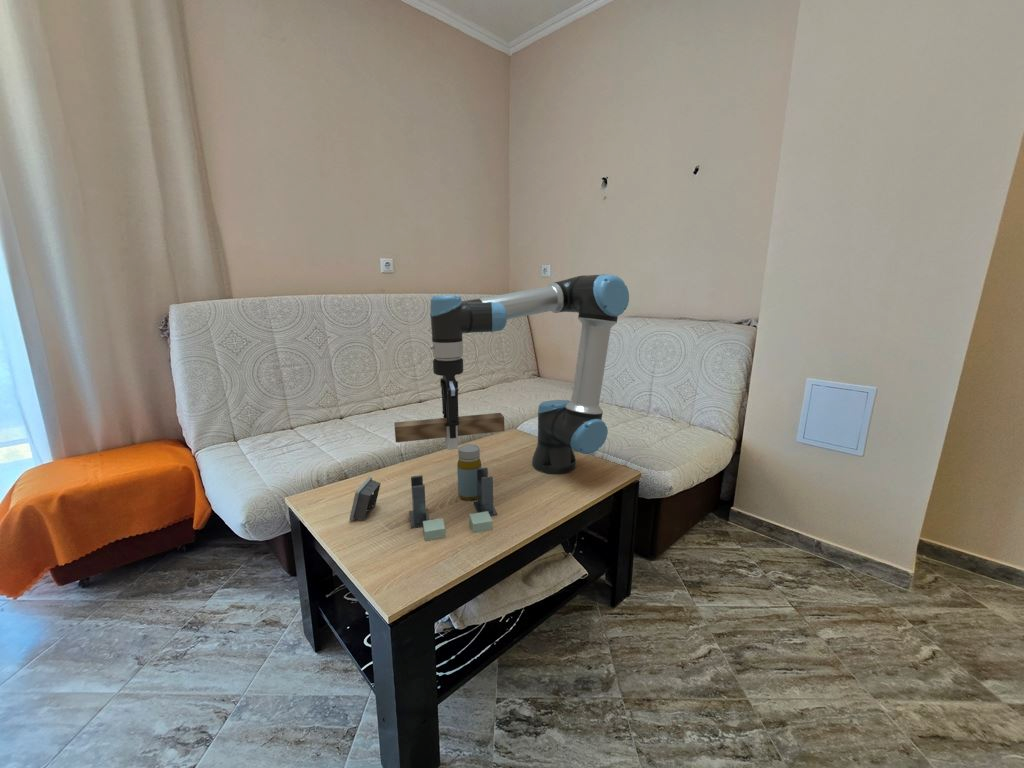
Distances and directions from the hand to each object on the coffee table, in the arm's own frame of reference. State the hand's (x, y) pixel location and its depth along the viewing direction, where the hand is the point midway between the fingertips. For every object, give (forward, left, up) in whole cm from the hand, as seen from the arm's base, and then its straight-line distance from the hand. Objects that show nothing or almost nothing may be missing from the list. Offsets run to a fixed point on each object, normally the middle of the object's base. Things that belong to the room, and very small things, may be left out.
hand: (451, 445), depth 110 cm
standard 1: (+9, 0, -20) cm, 22 cm away
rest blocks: (0, +8, -20) cm, 22 cm away
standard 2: (-9, 0, -20) cm, 22 cm away
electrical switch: (+23, -7, -20) cm, 32 cm away
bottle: (-6, -9, -20) cm, 23 cm away
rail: (0, 0, +3) cm, 3 cm away
